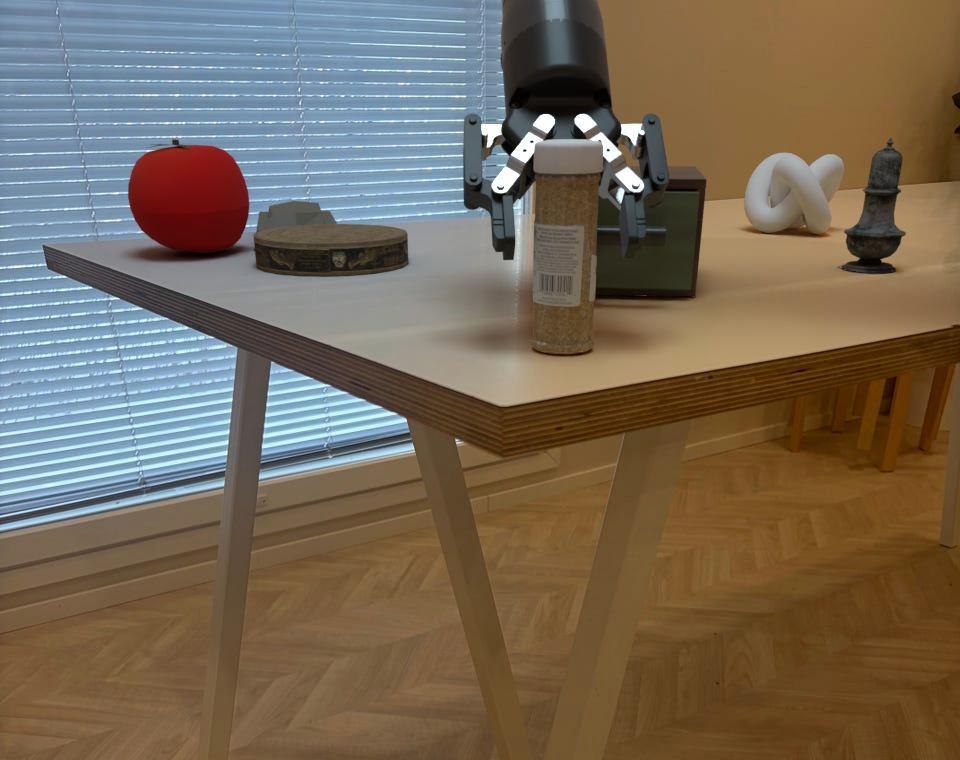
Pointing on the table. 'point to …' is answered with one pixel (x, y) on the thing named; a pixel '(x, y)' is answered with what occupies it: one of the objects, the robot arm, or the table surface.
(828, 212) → the white knot sculpture
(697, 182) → the cabinet
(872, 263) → the salt shaker
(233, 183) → the tomato
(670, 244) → the drawer
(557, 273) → the sprinkles bottle
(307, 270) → the tin can
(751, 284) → the table surface
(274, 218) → the soap mold
